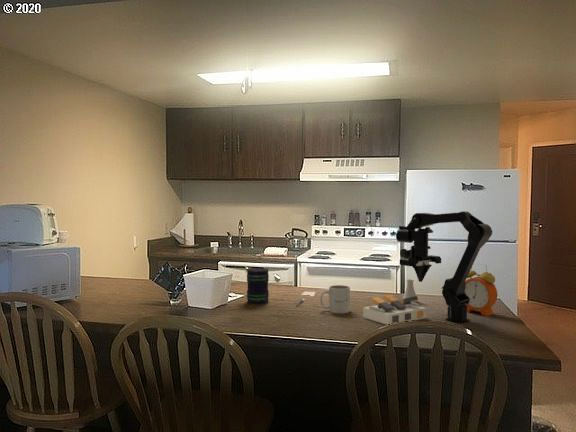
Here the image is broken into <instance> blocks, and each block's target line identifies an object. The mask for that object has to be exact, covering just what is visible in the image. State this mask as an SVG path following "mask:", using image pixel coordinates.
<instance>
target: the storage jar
mask: <svg viewBox="0 0 576 432" xmlns="http://www.w3.org/2000/svg"><path fill="white" fill-rule="evenodd" d="M269 278H270V275H269V269H268V268H263V267H254V268H253V267H251V268H247V269H246V282H247V290H246V299H247V301H246V303H247V304H248V305H252V304H253V305H255V306H259V305H260V306H261V305H262V306H263V305H268V304H269V297H270V296H269V295H270V294H269V280H270V279H269Z"/></svg>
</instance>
